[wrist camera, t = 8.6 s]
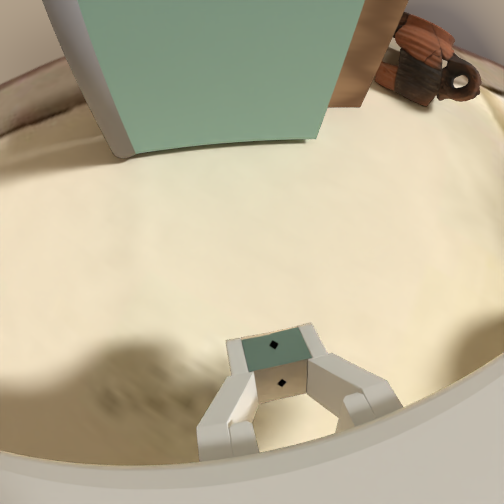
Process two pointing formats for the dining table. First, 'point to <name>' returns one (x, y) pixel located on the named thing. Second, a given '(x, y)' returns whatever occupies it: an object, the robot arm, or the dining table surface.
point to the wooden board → (366, 50)
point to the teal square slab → (204, 67)
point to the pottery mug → (427, 64)
